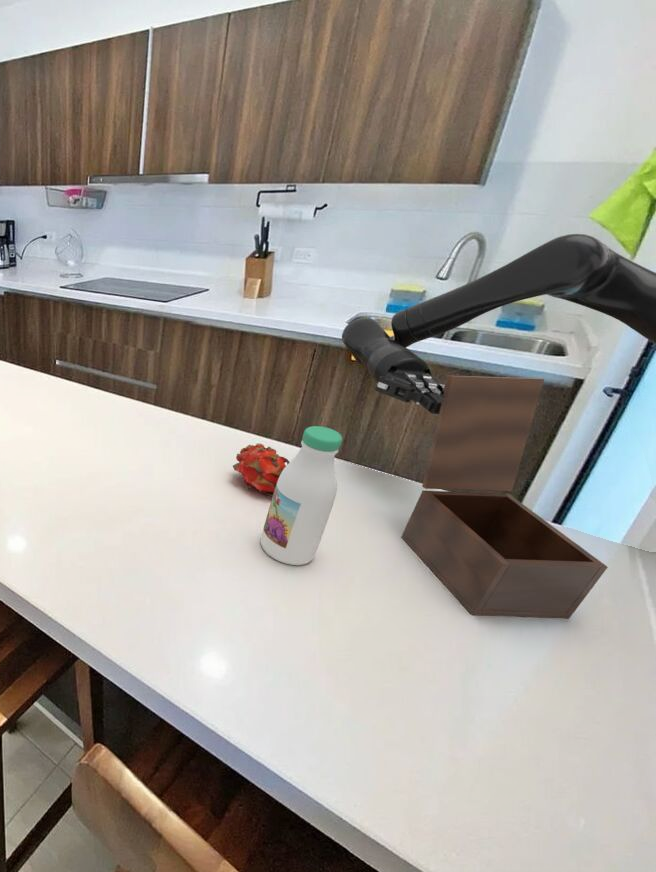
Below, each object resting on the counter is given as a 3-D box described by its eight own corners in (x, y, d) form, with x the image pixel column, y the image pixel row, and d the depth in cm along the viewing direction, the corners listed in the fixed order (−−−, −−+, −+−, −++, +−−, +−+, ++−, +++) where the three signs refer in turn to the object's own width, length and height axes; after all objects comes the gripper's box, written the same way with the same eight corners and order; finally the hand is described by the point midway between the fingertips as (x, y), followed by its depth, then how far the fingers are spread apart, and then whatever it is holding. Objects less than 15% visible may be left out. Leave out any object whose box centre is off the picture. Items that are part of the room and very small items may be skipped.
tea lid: (544, 379, 69) (539, 378, 70) (452, 376, 69) (447, 375, 70) (512, 491, 74) (507, 489, 74) (425, 488, 74) (421, 486, 75)
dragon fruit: (228, 476, 96) (285, 513, 89) (216, 468, 89) (276, 506, 82) (255, 440, 95) (314, 474, 88) (244, 428, 88) (307, 464, 81)
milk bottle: (309, 538, 78) (349, 424, 68) (318, 571, 71) (363, 450, 62) (257, 529, 80) (289, 416, 70) (261, 560, 73) (296, 441, 63)
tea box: (569, 618, 65) (608, 567, 61) (471, 615, 65) (502, 563, 61) (482, 539, 79) (508, 493, 74) (400, 536, 79) (422, 490, 74)
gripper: (365, 346, 91) (403, 382, 77) (444, 353, 89) (499, 390, 75) (351, 384, 95) (385, 425, 80) (427, 391, 93) (476, 434, 78)
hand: (440, 408), depth 78 cm, fingers closed
